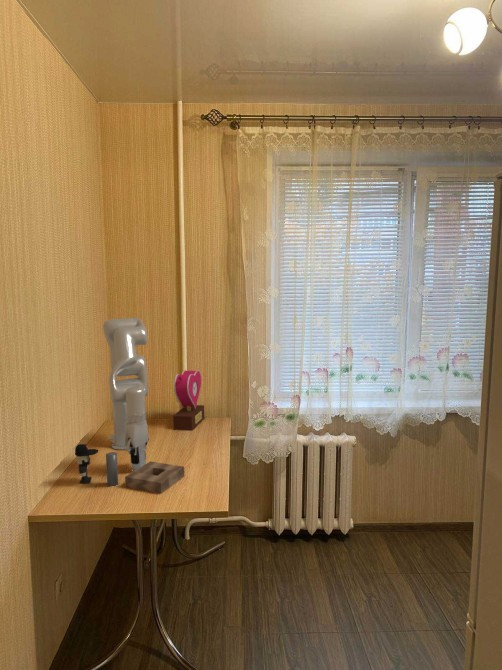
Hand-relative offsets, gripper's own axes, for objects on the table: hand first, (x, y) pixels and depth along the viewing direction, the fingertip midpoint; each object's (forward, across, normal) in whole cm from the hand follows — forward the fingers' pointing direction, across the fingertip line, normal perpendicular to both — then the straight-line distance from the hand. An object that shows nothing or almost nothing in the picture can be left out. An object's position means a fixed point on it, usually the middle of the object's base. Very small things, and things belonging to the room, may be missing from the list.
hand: (138, 461), depth 192 cm
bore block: (+4, +7, +13) cm, 15 cm away
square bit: (+4, 0, 0) cm, 4 cm away
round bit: (+4, +15, -1) cm, 16 cm away
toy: (+4, +16, -12) cm, 20 cm away
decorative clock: (+4, -60, -12) cm, 61 cm away
